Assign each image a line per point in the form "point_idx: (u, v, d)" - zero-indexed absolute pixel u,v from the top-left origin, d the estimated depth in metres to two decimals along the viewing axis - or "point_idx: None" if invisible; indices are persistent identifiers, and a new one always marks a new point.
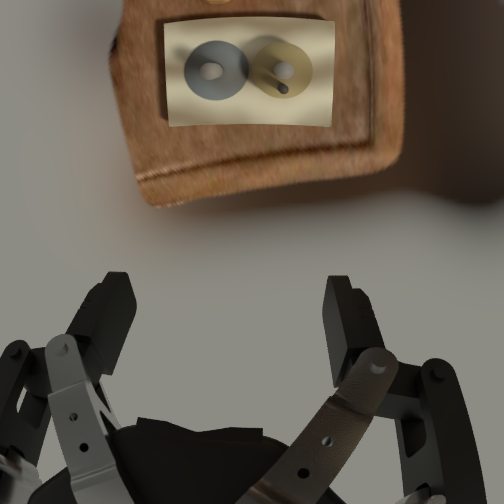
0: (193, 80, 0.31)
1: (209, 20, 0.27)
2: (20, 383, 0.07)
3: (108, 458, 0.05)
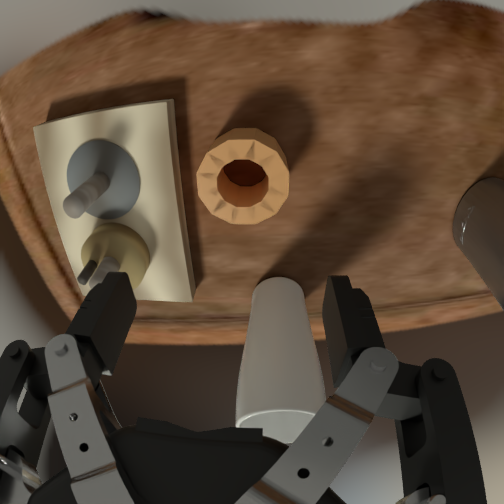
0: (85, 153, 0.22)
1: (169, 168, 0.23)
2: (20, 383, 0.07)
3: (108, 458, 0.05)
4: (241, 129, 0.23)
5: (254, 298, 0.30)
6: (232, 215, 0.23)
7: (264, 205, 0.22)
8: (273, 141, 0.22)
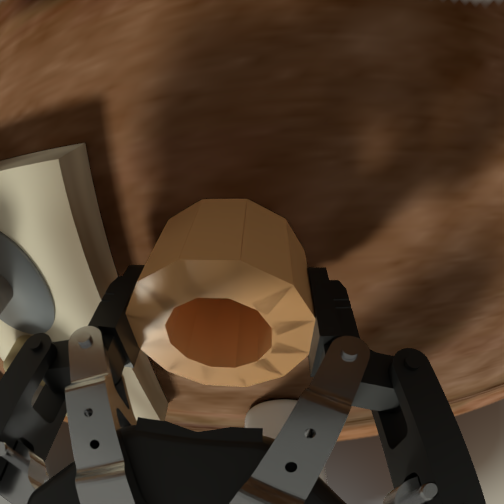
0: None
1: (88, 279, 0.12)
2: (38, 377, 0.07)
3: (108, 458, 0.05)
4: (216, 205, 0.11)
5: None
6: (204, 375, 0.12)
7: (262, 366, 0.11)
8: (283, 235, 0.11)
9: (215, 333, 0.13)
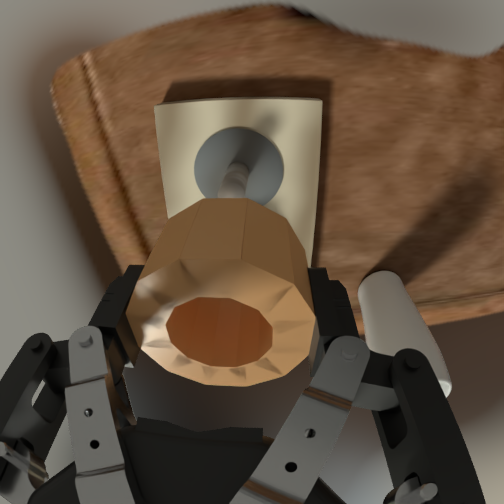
0: (223, 141, 0.23)
1: (316, 164, 0.24)
2: (38, 377, 0.07)
3: (108, 458, 0.05)
4: (217, 204, 0.11)
5: (366, 290, 0.31)
6: (204, 375, 0.12)
7: (263, 366, 0.11)
8: (283, 234, 0.11)
9: (215, 333, 0.13)
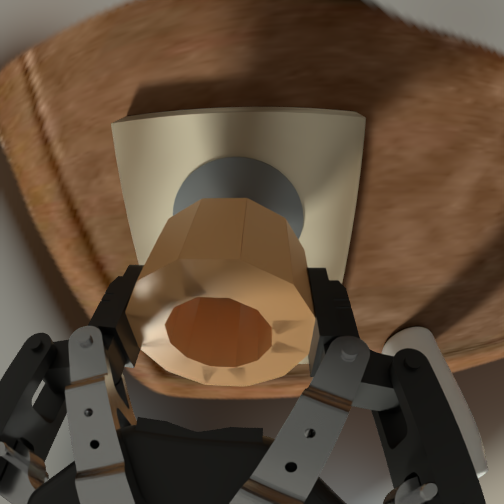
0: (215, 176, 0.16)
1: (350, 210, 0.17)
2: (38, 377, 0.07)
3: (108, 458, 0.05)
4: (216, 204, 0.11)
5: (394, 353, 0.24)
6: (204, 375, 0.12)
7: (262, 366, 0.11)
8: (283, 234, 0.11)
9: (215, 333, 0.13)
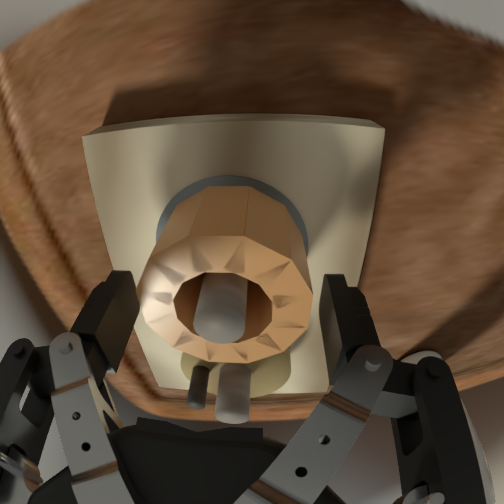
0: None
1: (363, 237, 0.14)
2: (23, 382, 0.07)
3: (108, 458, 0.05)
4: (221, 191, 0.12)
5: None
6: (207, 351, 0.13)
7: (263, 341, 0.12)
8: (282, 218, 0.12)
9: None
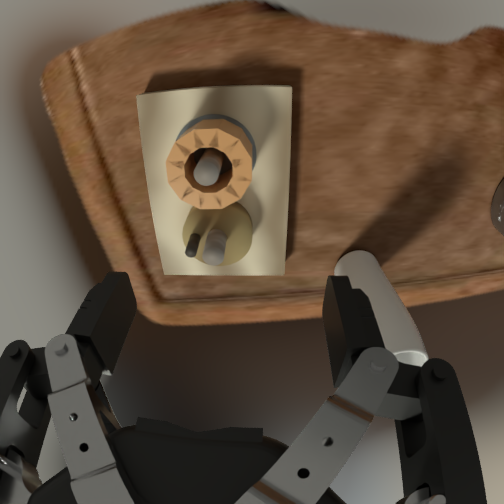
0: None
1: (287, 146, 0.26)
2: (20, 383, 0.07)
3: (108, 458, 0.05)
4: (209, 120, 0.24)
5: (341, 269, 0.33)
6: (200, 200, 0.24)
7: (229, 191, 0.23)
8: (238, 130, 0.23)
9: None
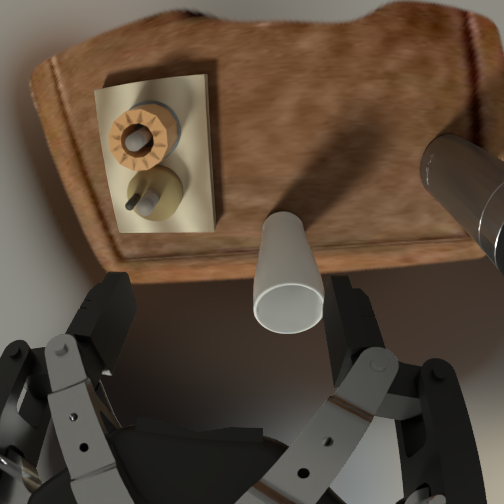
0: None
1: (204, 121, 0.31)
2: (20, 383, 0.07)
3: (108, 458, 0.05)
4: (143, 105, 0.29)
5: (264, 227, 0.38)
6: (132, 164, 0.30)
7: (152, 155, 0.29)
8: (162, 110, 0.29)
9: (140, 152, 0.31)
